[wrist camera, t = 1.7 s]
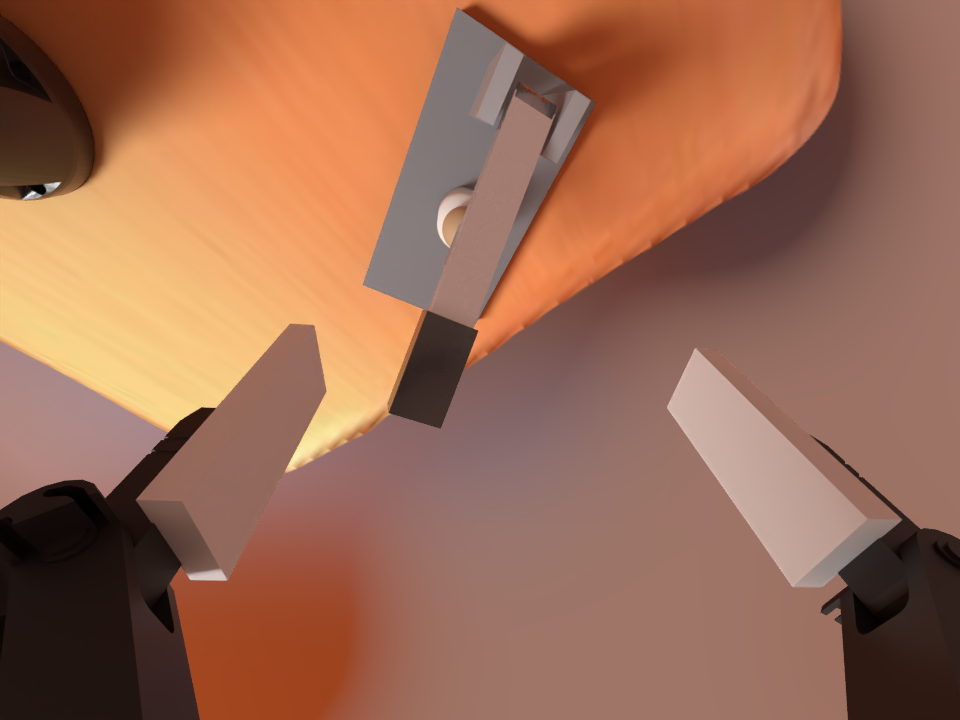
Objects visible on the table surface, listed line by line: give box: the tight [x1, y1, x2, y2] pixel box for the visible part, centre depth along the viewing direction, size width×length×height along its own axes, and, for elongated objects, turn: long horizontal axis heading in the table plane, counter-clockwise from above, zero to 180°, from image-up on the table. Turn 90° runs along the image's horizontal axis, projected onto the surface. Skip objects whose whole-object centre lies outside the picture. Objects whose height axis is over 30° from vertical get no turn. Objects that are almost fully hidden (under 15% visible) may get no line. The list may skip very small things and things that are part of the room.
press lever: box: [388, 81, 556, 428], centre depth 25 cm, size 4×23×3 cm, turn 154°
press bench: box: [363, 8, 596, 328], centre depth 33 cm, size 14×26×14 cm, turn 154°
